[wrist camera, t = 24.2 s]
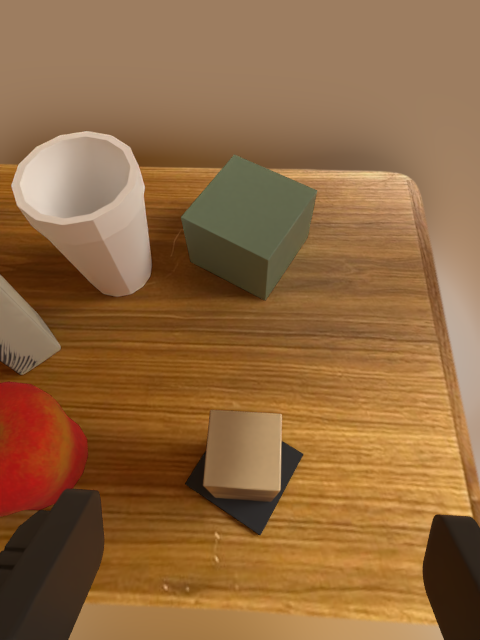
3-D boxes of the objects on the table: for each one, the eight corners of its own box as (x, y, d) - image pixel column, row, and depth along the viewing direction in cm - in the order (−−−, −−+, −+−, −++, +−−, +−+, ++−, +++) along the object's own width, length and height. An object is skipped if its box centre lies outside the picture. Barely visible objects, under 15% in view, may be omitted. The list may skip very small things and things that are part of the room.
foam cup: (137, 219, 46) (100, 115, 35) (184, 275, 43) (161, 181, 32) (59, 264, 44) (-9, 168, 32) (103, 327, 41) (45, 246, 29)
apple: (87, 525, 33) (11, 523, 22) (-17, 514, 34) (-138, 506, 23) (112, 416, 37) (58, 370, 26) (19, 407, 37) (-71, 359, 27)
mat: (302, 454, 35) (303, 454, 35) (260, 535, 33) (260, 535, 32) (231, 411, 37) (231, 410, 37) (185, 484, 34) (184, 483, 34)
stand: (307, 237, 45) (317, 190, 39) (265, 301, 42) (268, 260, 35) (236, 204, 47) (234, 154, 41) (190, 261, 44) (180, 217, 38)
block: (273, 443, 35) (282, 413, 26) (271, 501, 33) (280, 491, 24) (219, 439, 35) (210, 409, 26) (214, 497, 33) (202, 485, 24)
